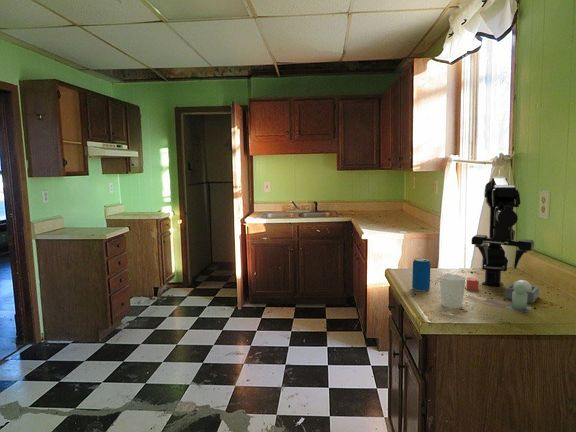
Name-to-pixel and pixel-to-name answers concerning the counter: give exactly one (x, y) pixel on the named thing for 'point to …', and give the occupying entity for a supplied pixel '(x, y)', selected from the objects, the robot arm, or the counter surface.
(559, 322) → the counter surface
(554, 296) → the counter surface
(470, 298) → the game track
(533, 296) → the grey square tray
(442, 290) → the white cup
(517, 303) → the pawn
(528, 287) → the dome
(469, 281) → the red die
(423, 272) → the beverage can
